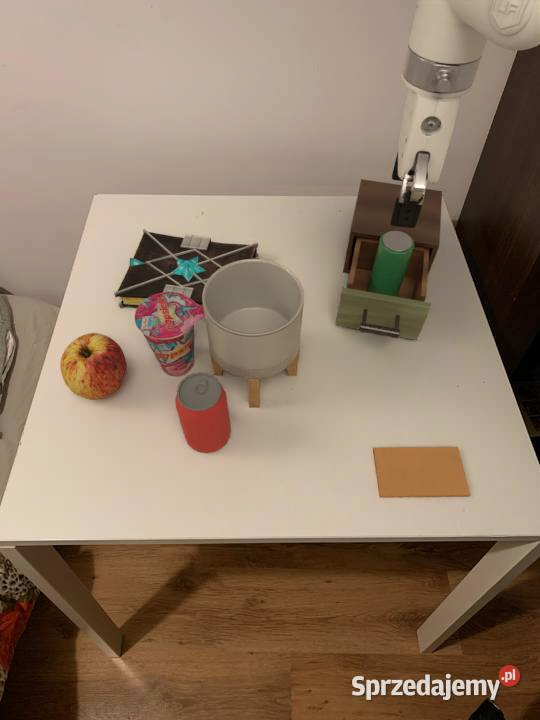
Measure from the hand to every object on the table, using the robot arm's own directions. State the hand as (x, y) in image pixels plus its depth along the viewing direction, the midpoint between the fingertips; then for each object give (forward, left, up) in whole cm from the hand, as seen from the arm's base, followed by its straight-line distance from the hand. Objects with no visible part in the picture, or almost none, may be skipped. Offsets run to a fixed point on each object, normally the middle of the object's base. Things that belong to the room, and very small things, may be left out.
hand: (402, 201), depth 66 cm
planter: (+16, +17, -22) cm, 33 cm away
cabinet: (-1, -15, -22) cm, 27 cm away
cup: (+28, +18, -22) cm, 41 cm away
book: (+32, +1, -22) cm, 40 cm away
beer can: (+20, +29, -22) cm, 42 cm away
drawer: (-1, +1, -21) cm, 21 cm away
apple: (+38, +25, -22) cm, 51 cm away
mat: (-10, +28, -22) cm, 37 cm away
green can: (-1, -2, -20) cm, 20 cm away
